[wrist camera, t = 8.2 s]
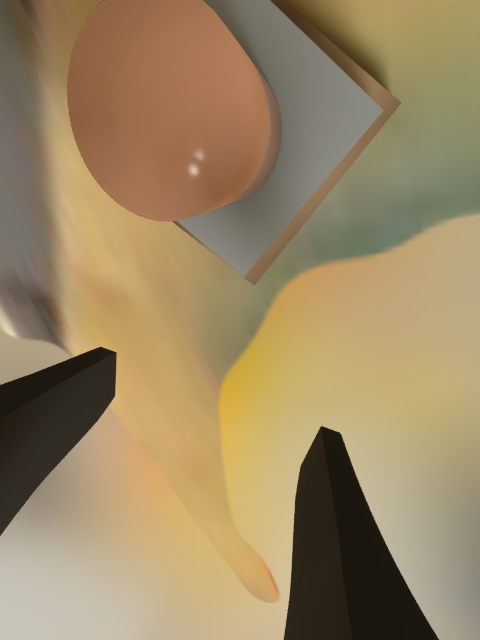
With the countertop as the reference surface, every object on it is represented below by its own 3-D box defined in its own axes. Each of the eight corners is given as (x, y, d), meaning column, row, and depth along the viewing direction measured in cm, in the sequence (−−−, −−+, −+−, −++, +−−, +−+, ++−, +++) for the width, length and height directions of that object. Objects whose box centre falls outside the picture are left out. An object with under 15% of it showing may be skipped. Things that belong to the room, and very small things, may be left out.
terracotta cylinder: (310, 112, 11) (296, 74, 7) (235, 229, 14) (188, 256, 9) (196, 21, 11) (104, -79, 7) (140, 157, 13) (47, 150, 9)
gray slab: (374, 119, 13) (383, 110, 11) (254, 262, 17) (243, 277, 15) (223, -26, 12) (200, -68, 10) (134, 160, 16) (103, 159, 14)
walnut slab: (390, 112, 15) (401, 102, 12) (262, 271, 19) (254, 285, 17) (219, -38, 14) (198, -76, 12) (130, 168, 19) (104, 169, 17)
